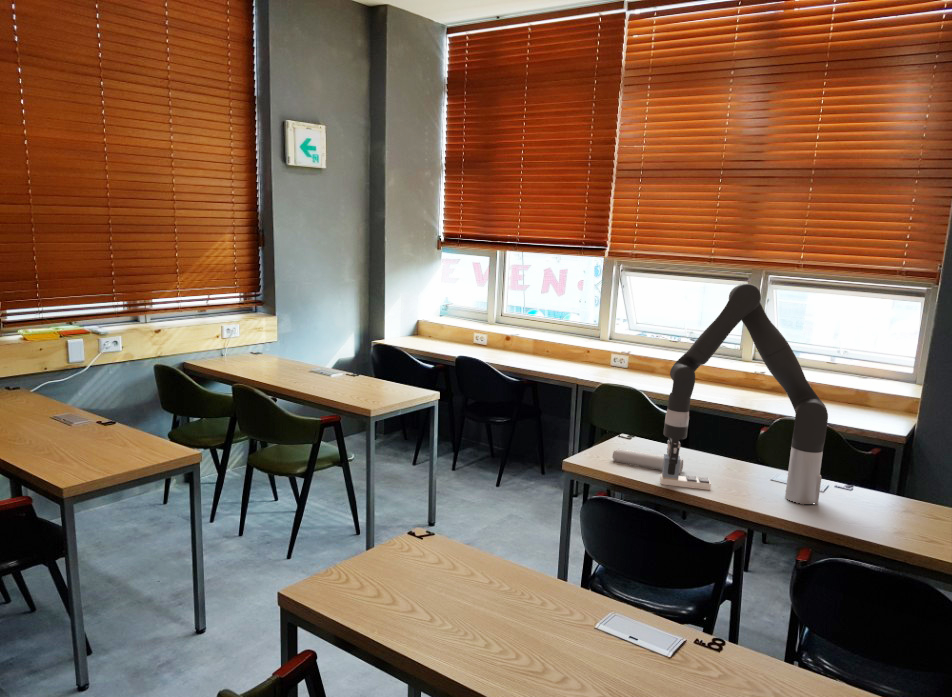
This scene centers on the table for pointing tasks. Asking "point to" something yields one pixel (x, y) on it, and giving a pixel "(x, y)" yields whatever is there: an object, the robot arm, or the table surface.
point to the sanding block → (665, 468)
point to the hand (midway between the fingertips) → (670, 471)
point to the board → (685, 483)
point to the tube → (641, 459)
